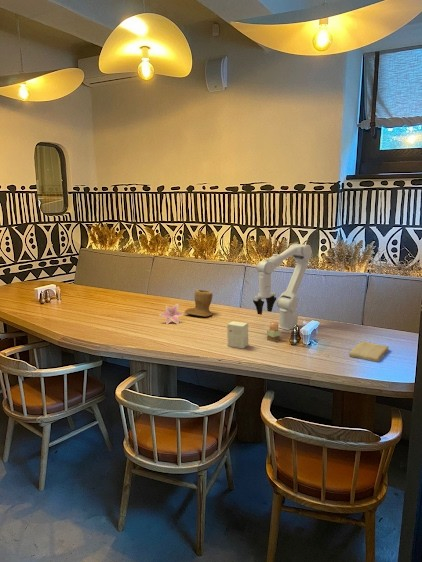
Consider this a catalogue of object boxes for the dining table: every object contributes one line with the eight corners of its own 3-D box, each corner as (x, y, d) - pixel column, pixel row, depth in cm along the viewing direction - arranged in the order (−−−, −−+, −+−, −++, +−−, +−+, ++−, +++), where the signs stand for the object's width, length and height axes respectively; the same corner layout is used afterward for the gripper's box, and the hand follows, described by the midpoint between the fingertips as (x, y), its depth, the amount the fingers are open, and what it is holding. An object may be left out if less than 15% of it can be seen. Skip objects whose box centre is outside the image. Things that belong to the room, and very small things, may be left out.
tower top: (274, 333, 198) (274, 328, 197) (280, 335, 194) (280, 330, 193) (266, 334, 195) (266, 329, 195) (273, 337, 191) (273, 332, 191)
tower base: (272, 338, 198) (272, 333, 198) (280, 339, 195) (280, 334, 195) (267, 340, 195) (267, 335, 194) (275, 342, 192) (275, 337, 191)
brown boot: (216, 314, 241) (216, 289, 238) (205, 319, 231) (204, 293, 228) (196, 311, 249) (195, 286, 246) (183, 315, 239) (183, 290, 237)
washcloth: (389, 350, 180) (389, 344, 179) (378, 364, 165) (379, 356, 165) (361, 345, 186) (361, 339, 186) (348, 358, 172) (349, 350, 172)
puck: (273, 328, 197) (273, 321, 196) (280, 330, 194) (280, 323, 193) (267, 329, 194) (267, 322, 194) (274, 331, 191) (274, 324, 191)
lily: (156, 324, 226) (157, 312, 220) (167, 311, 235) (168, 299, 229) (176, 332, 223) (177, 320, 217) (186, 319, 232) (187, 307, 225)
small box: (248, 345, 188) (248, 323, 186) (243, 349, 183) (243, 326, 181) (233, 342, 192) (232, 320, 190) (227, 346, 187) (227, 323, 185)
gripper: (268, 282, 209) (267, 308, 211) (249, 286, 199) (248, 314, 201) (279, 284, 204) (278, 311, 206) (260, 288, 194) (259, 316, 196)
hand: (264, 312), depth 203 cm, fingers open, 7 cm apart
